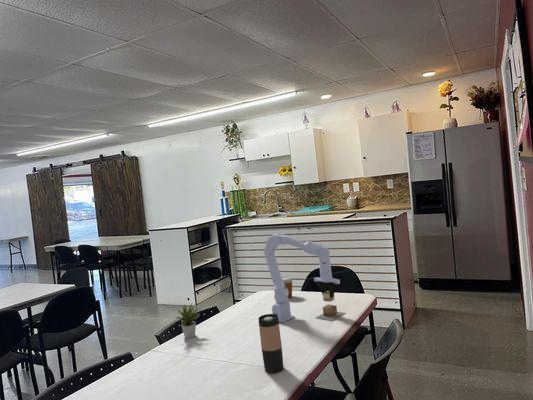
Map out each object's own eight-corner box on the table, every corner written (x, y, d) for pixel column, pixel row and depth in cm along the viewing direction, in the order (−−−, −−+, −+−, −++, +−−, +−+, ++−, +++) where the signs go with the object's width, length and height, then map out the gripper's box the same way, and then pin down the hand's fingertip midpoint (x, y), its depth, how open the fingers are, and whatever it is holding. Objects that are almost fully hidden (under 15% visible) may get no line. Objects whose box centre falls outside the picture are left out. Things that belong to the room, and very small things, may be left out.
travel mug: (272, 363, 154) (266, 312, 154) (288, 367, 149) (282, 315, 149) (260, 371, 148) (253, 319, 148) (275, 375, 143) (269, 321, 143)
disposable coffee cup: (277, 299, 240) (275, 280, 239) (281, 295, 249) (279, 276, 249) (292, 299, 237) (290, 279, 237) (296, 294, 246) (294, 275, 246)
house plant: (198, 342, 185) (193, 308, 184) (170, 343, 188) (166, 309, 187) (208, 331, 199) (204, 299, 198) (182, 332, 202) (179, 300, 201)
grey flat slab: (332, 321, 192) (332, 320, 192) (315, 318, 199) (315, 317, 199) (345, 313, 201) (345, 312, 201) (329, 310, 208) (329, 310, 208)
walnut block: (331, 317, 197) (330, 308, 197) (323, 315, 200) (322, 307, 200) (337, 314, 200) (336, 305, 200) (329, 312, 204) (328, 304, 204)
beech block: (330, 301, 197) (329, 293, 197) (323, 300, 200) (322, 293, 200) (334, 299, 200) (333, 291, 200) (328, 298, 203) (327, 291, 203)
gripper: (342, 269, 197) (345, 296, 198) (318, 267, 207) (321, 293, 208) (334, 272, 192) (337, 300, 193) (310, 270, 202) (313, 296, 203)
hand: (328, 296), depth 200 cm, fingers closed on beech block, 4 cm apart
